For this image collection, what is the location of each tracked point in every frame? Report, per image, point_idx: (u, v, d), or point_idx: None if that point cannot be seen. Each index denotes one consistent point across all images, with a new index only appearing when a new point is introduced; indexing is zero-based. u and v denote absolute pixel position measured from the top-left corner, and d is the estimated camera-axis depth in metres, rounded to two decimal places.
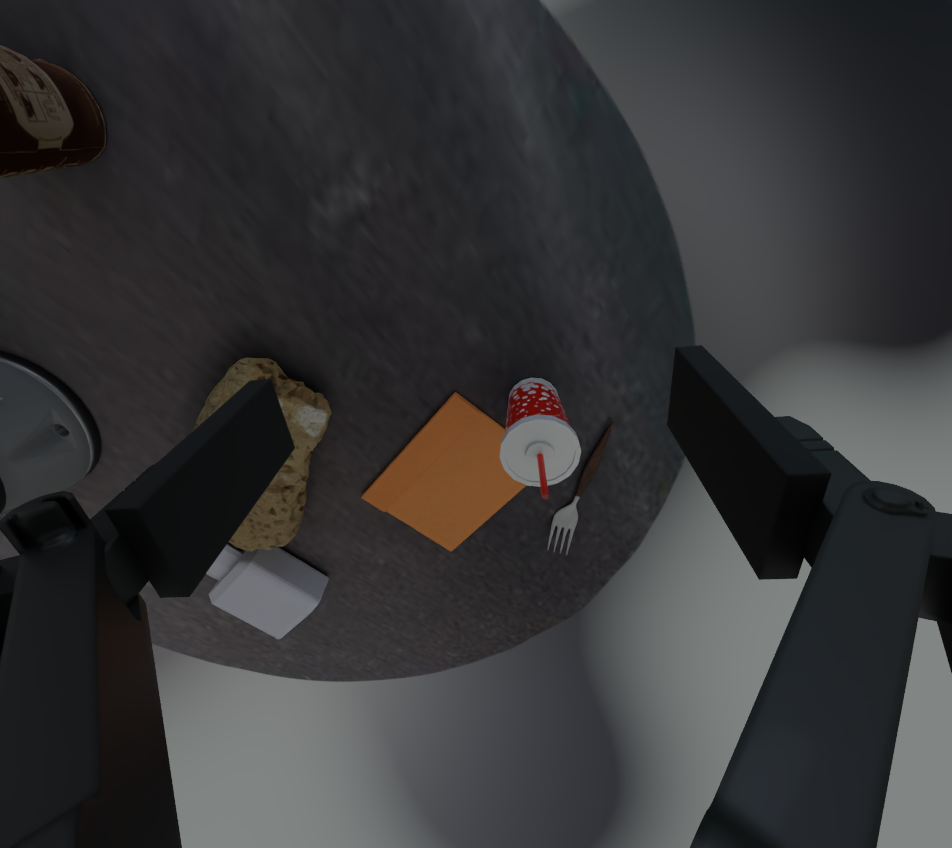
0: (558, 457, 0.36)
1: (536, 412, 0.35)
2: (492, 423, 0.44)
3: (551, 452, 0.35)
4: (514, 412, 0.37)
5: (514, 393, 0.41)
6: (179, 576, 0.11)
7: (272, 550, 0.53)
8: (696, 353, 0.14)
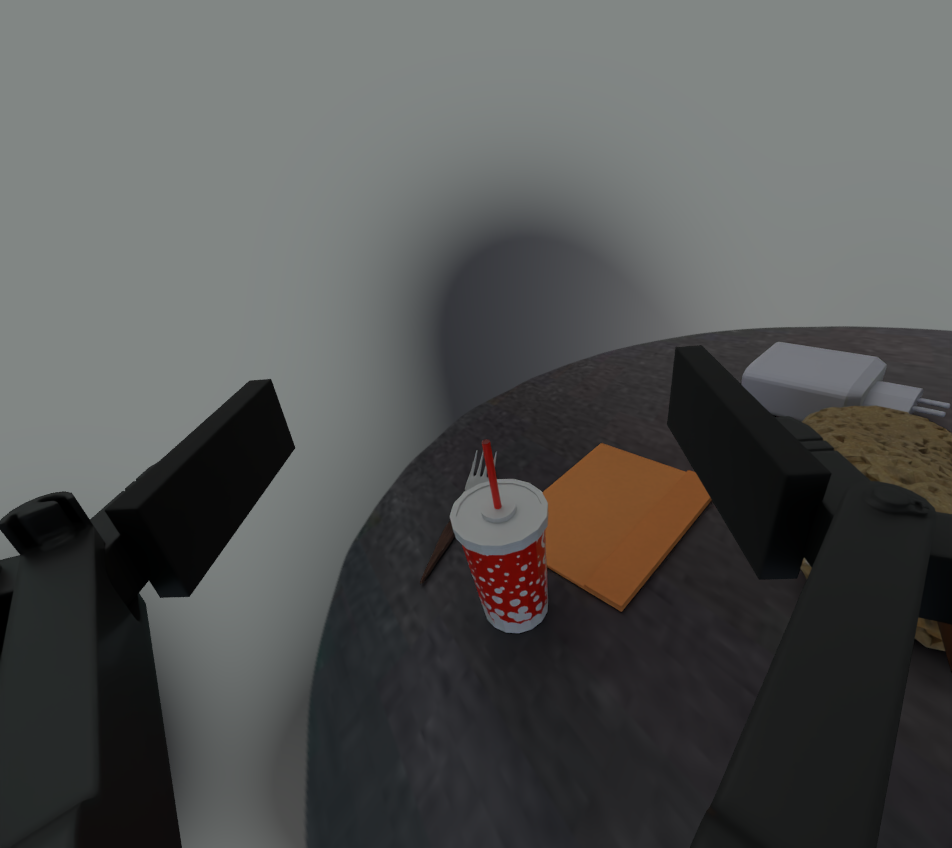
0: (476, 509, 0.30)
1: (504, 561, 0.27)
2: (566, 573, 0.35)
3: (484, 511, 0.29)
4: (534, 567, 0.29)
5: (539, 605, 0.31)
6: (179, 576, 0.11)
7: None
8: (696, 353, 0.14)
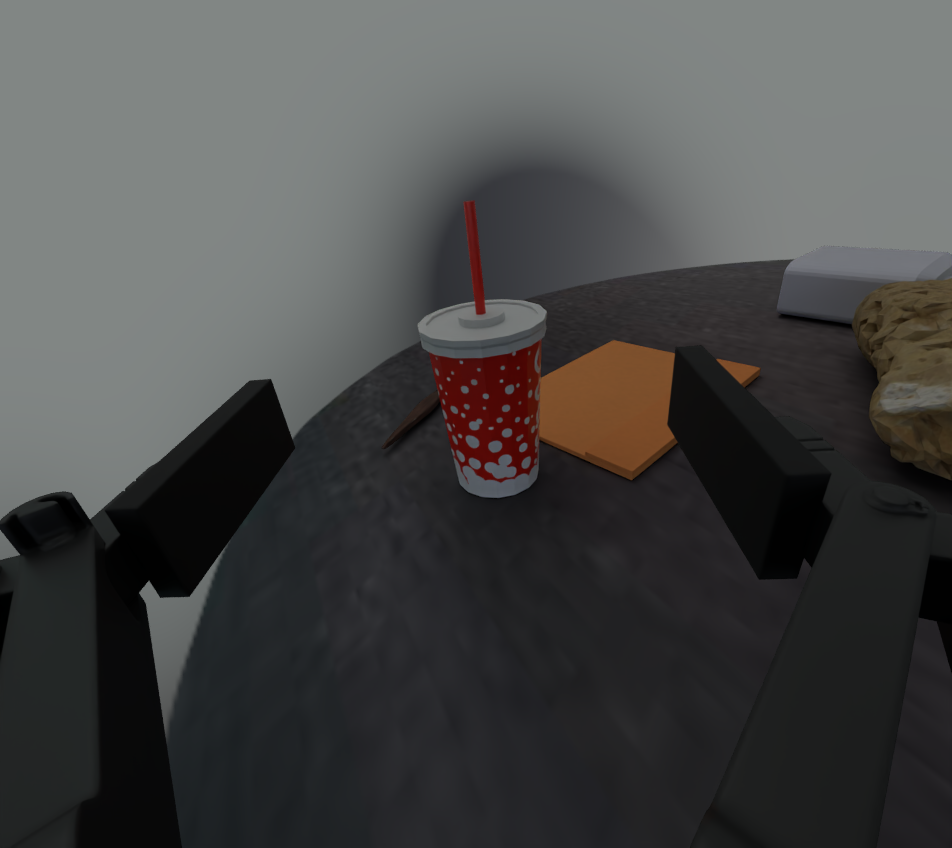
0: (453, 320, 0.23)
1: (483, 373, 0.21)
2: (564, 444, 0.28)
3: (462, 316, 0.22)
4: (523, 394, 0.22)
5: (526, 461, 0.24)
6: (179, 576, 0.11)
7: None
8: (696, 353, 0.14)
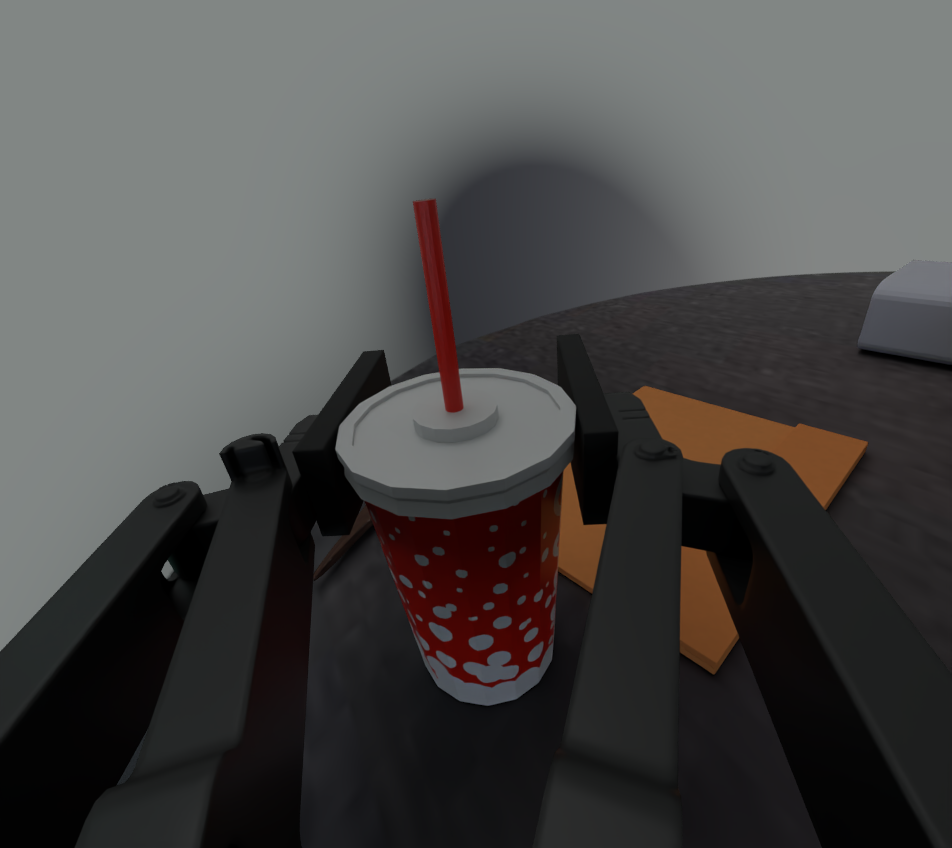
0: (406, 416, 0.13)
1: (456, 539, 0.10)
2: (592, 584, 0.18)
3: (419, 415, 0.12)
4: (533, 560, 0.12)
5: (536, 650, 0.14)
6: (343, 515, 0.12)
7: None
8: (570, 340, 0.16)
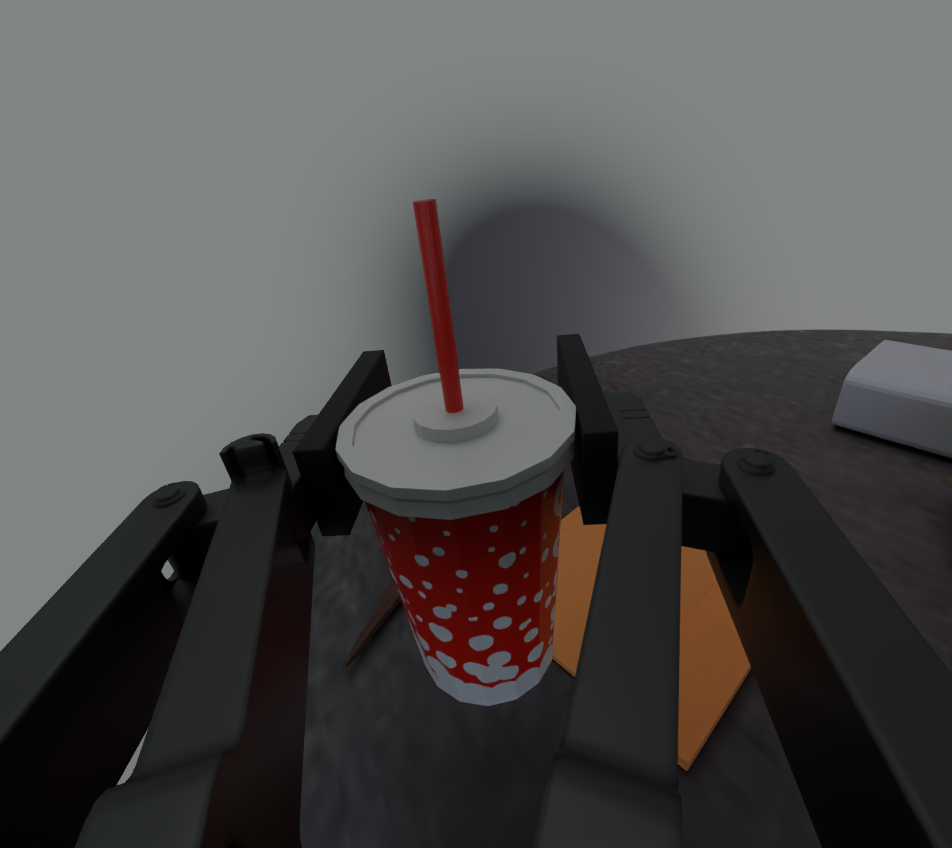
0: (406, 416, 0.13)
1: (456, 539, 0.10)
2: None
3: (419, 415, 0.12)
4: (533, 561, 0.12)
5: (536, 651, 0.14)
6: (343, 515, 0.12)
7: None
8: (571, 340, 0.16)
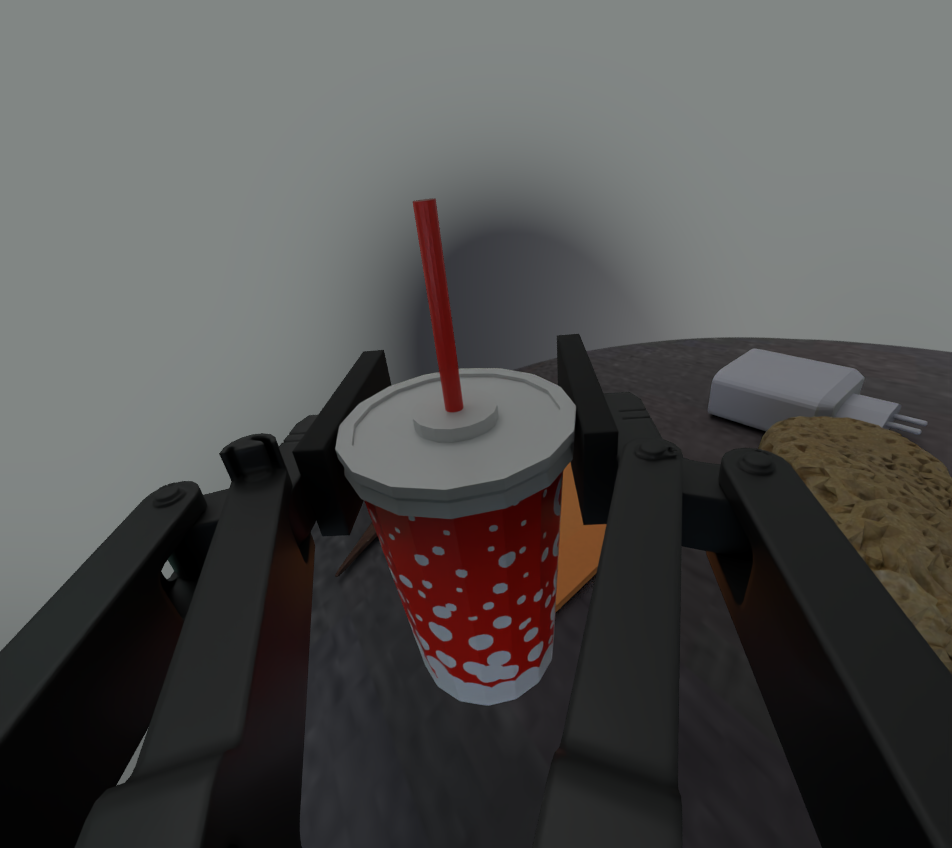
0: (406, 415, 0.13)
1: (456, 538, 0.10)
2: None
3: (419, 415, 0.12)
4: (533, 560, 0.12)
5: (536, 650, 0.14)
6: (343, 515, 0.12)
7: None
8: (571, 340, 0.16)
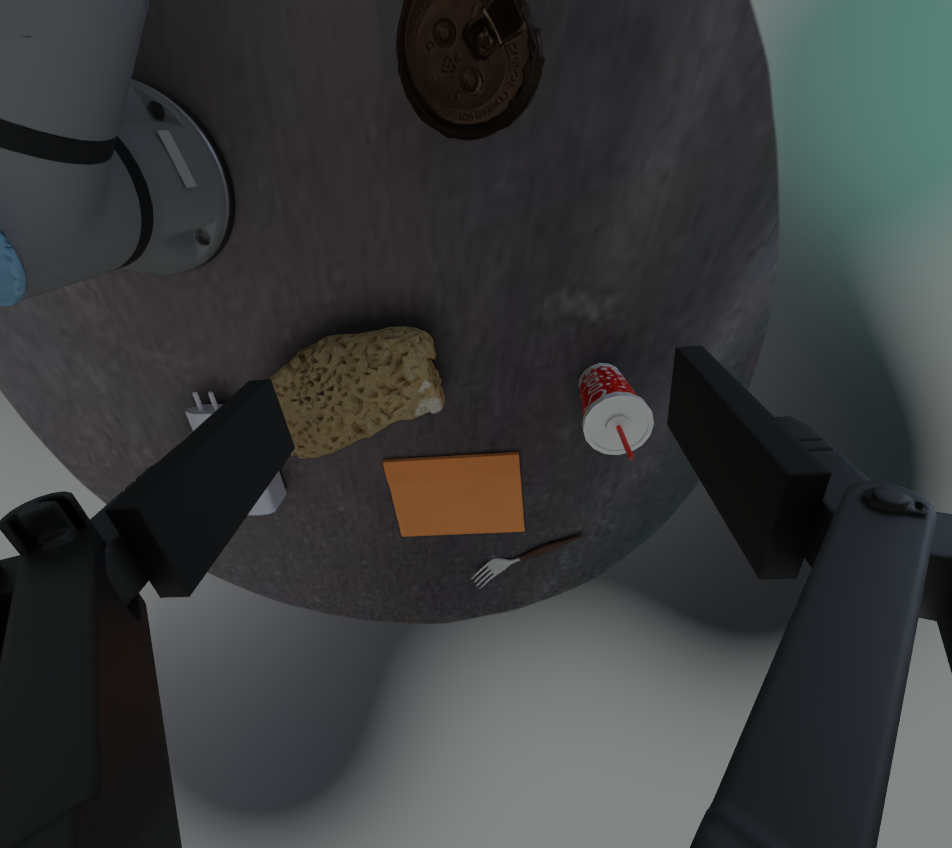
0: None
1: None
2: (519, 485, 0.56)
3: (628, 431, 0.41)
4: (613, 384, 0.43)
5: (604, 369, 0.47)
6: (179, 576, 0.11)
7: None
8: (696, 353, 0.14)
